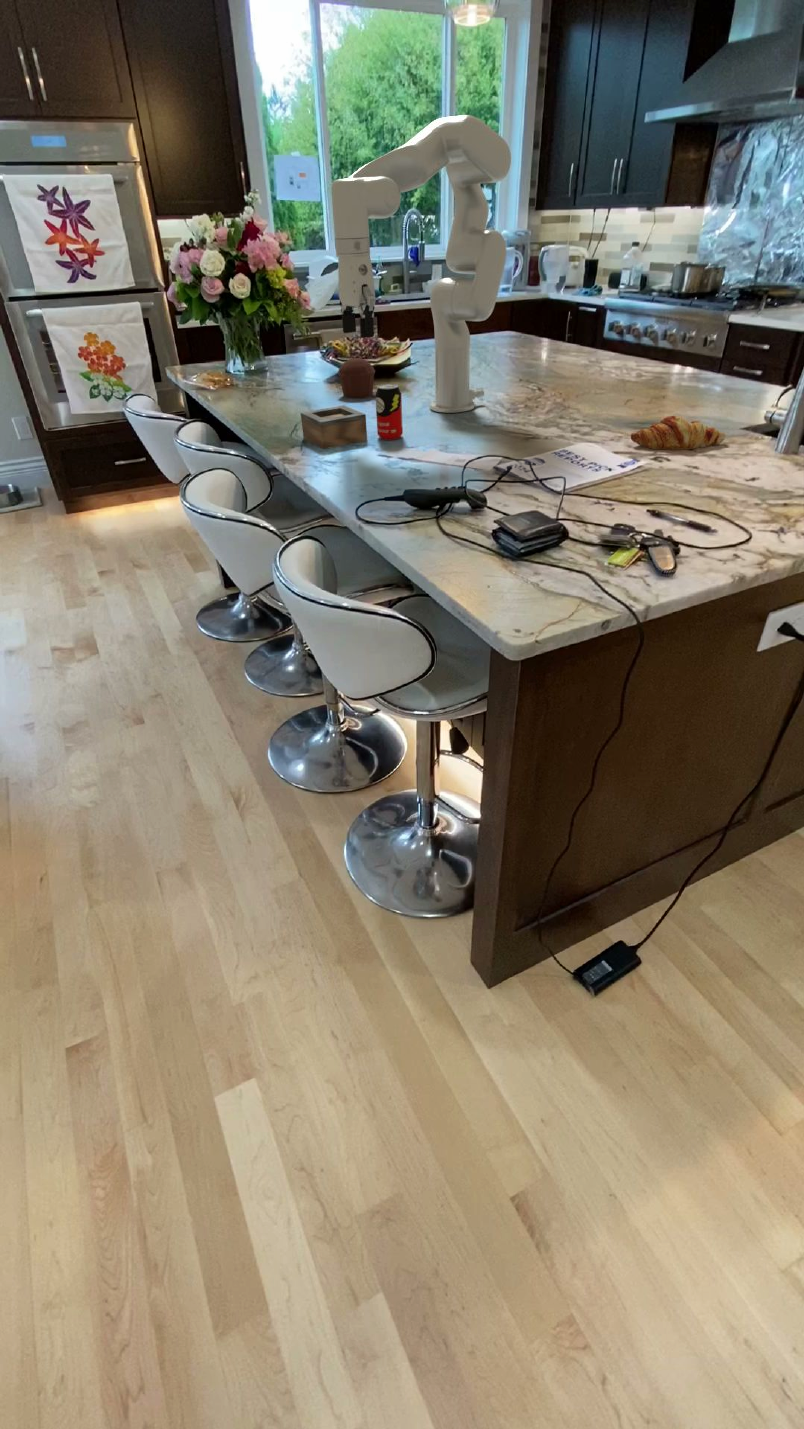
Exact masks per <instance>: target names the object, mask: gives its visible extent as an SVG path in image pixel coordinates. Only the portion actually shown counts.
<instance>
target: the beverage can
mask: <svg viewBox="0 0 804 1429" xmlns="http://www.w3.org/2000/svg"><path fill="white" fill-rule="evenodd" d="M375 411H376V412H375V413H376V414H375V415H376V432H377V436H378V437H379V438H381V440H384V441H393V440H395V441H396V440H399V438H400V437H401V436H403V432H404V430H403V403H402V392H401V390H400V388H399V385H398V384H397V383H396V384H395V383H382V384H378V385H377V390H376V392H375Z"/></svg>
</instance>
